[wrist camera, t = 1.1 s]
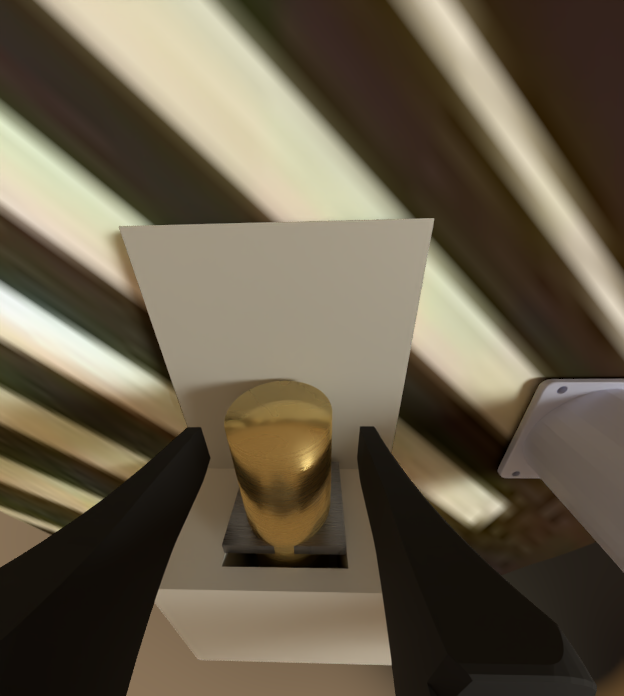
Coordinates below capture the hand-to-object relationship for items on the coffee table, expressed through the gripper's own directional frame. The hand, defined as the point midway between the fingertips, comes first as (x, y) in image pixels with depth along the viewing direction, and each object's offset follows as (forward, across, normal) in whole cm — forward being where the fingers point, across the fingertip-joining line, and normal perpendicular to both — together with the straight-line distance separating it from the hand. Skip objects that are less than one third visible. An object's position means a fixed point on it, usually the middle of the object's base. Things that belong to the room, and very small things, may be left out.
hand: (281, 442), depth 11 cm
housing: (+4, 0, +3) cm, 5 cm away
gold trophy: (+2, 0, +5) cm, 5 cm away
